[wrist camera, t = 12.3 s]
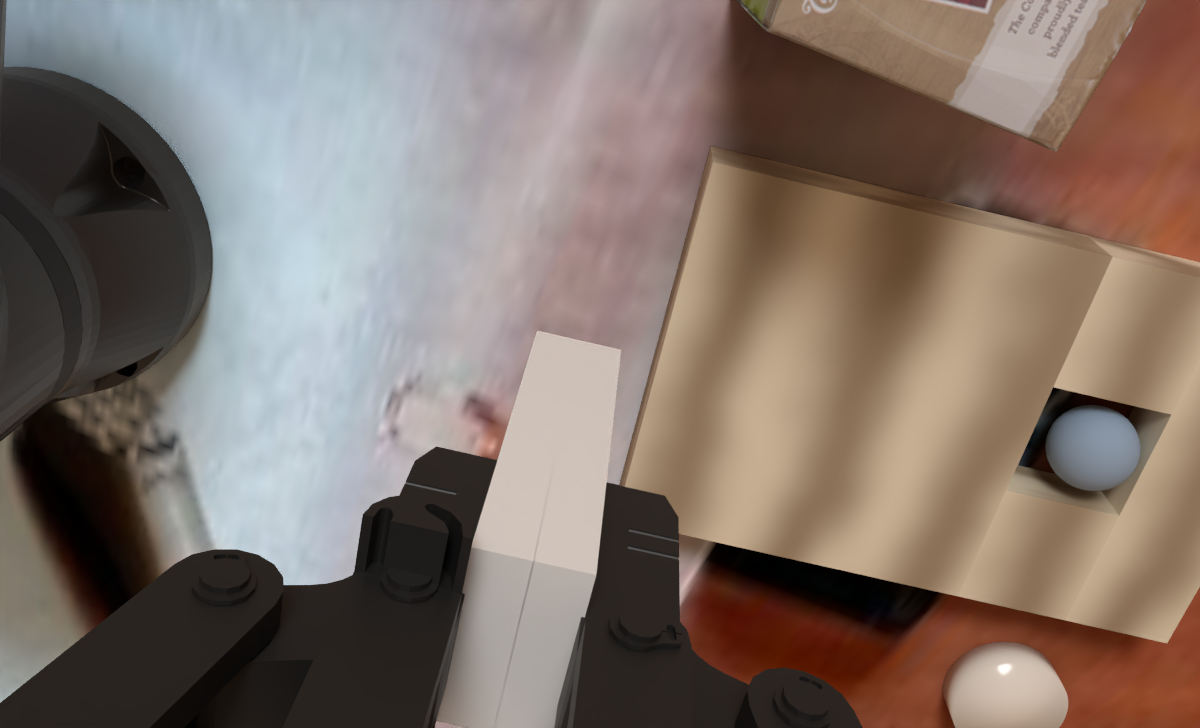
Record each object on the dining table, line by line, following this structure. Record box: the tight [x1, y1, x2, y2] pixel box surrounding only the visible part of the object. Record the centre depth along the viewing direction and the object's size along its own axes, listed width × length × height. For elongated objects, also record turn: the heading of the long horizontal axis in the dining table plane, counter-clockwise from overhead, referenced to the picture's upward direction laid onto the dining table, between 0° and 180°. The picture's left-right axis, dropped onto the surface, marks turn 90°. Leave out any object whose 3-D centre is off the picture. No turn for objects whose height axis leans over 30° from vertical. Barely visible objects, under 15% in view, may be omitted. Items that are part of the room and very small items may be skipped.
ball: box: [1045, 405, 1141, 491], centre depth 48 cm, size 4×4×4 cm
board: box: [619, 146, 1200, 643], centre depth 49 cm, size 28×18×3 cm, turn 77°
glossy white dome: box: [943, 642, 1068, 728], centre depth 56 cm, size 6×6×2 cm
